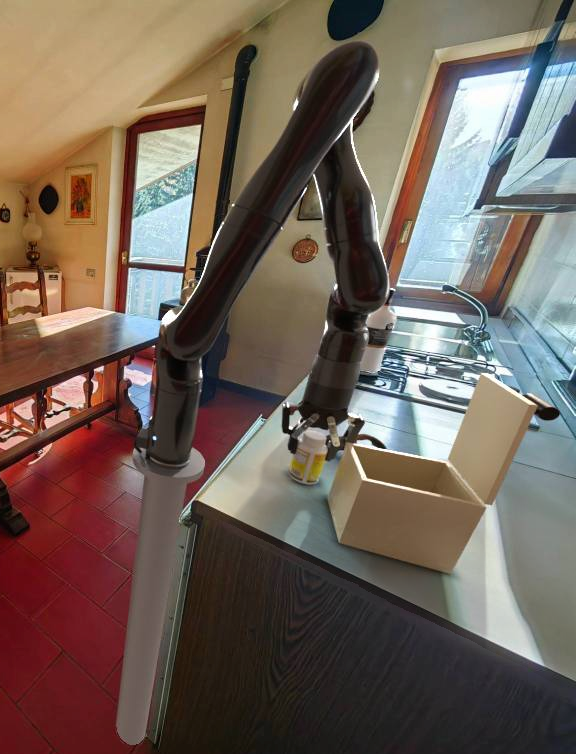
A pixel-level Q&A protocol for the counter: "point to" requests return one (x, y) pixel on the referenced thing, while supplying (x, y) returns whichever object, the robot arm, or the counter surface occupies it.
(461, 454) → the chest lid
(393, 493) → the wooden keepsake chest
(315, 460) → the supplement bottle
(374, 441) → the dark brown curved piece
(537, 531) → the counter surface
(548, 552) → the counter surface
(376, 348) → the vodka
